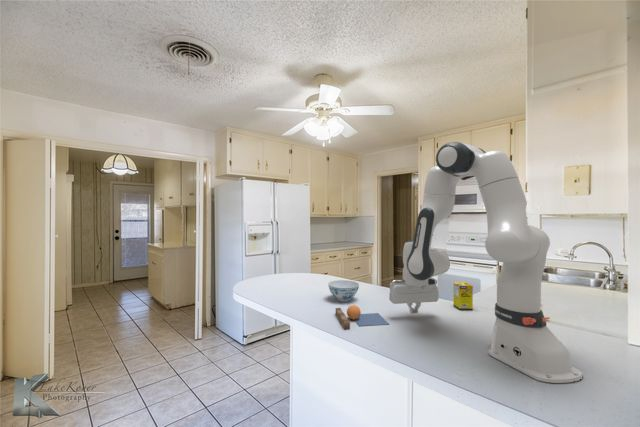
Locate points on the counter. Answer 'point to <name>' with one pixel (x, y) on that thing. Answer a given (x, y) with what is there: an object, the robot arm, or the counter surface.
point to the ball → (353, 312)
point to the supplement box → (463, 296)
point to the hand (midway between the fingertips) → (413, 313)
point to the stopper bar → (342, 318)
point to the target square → (371, 320)
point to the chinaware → (343, 289)
